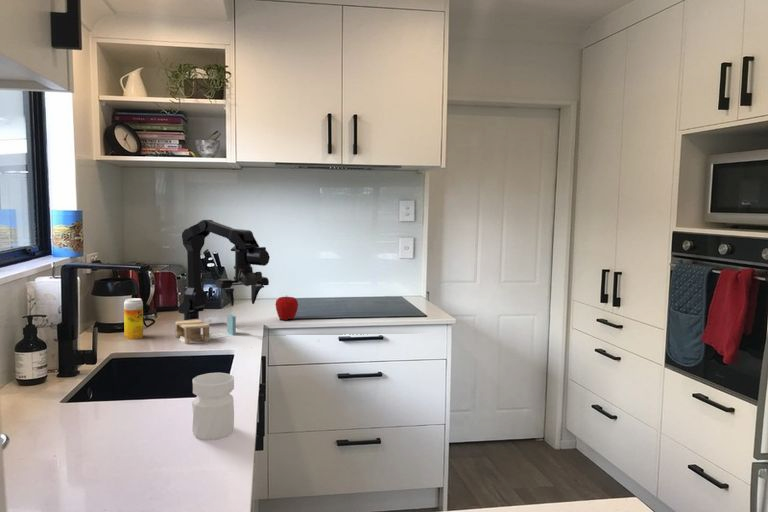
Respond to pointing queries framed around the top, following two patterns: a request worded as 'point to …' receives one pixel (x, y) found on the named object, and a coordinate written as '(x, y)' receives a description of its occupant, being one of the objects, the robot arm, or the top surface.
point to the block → (195, 334)
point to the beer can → (133, 318)
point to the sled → (230, 332)
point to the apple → (286, 307)
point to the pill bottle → (213, 406)
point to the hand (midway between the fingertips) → (242, 304)
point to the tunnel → (188, 326)
